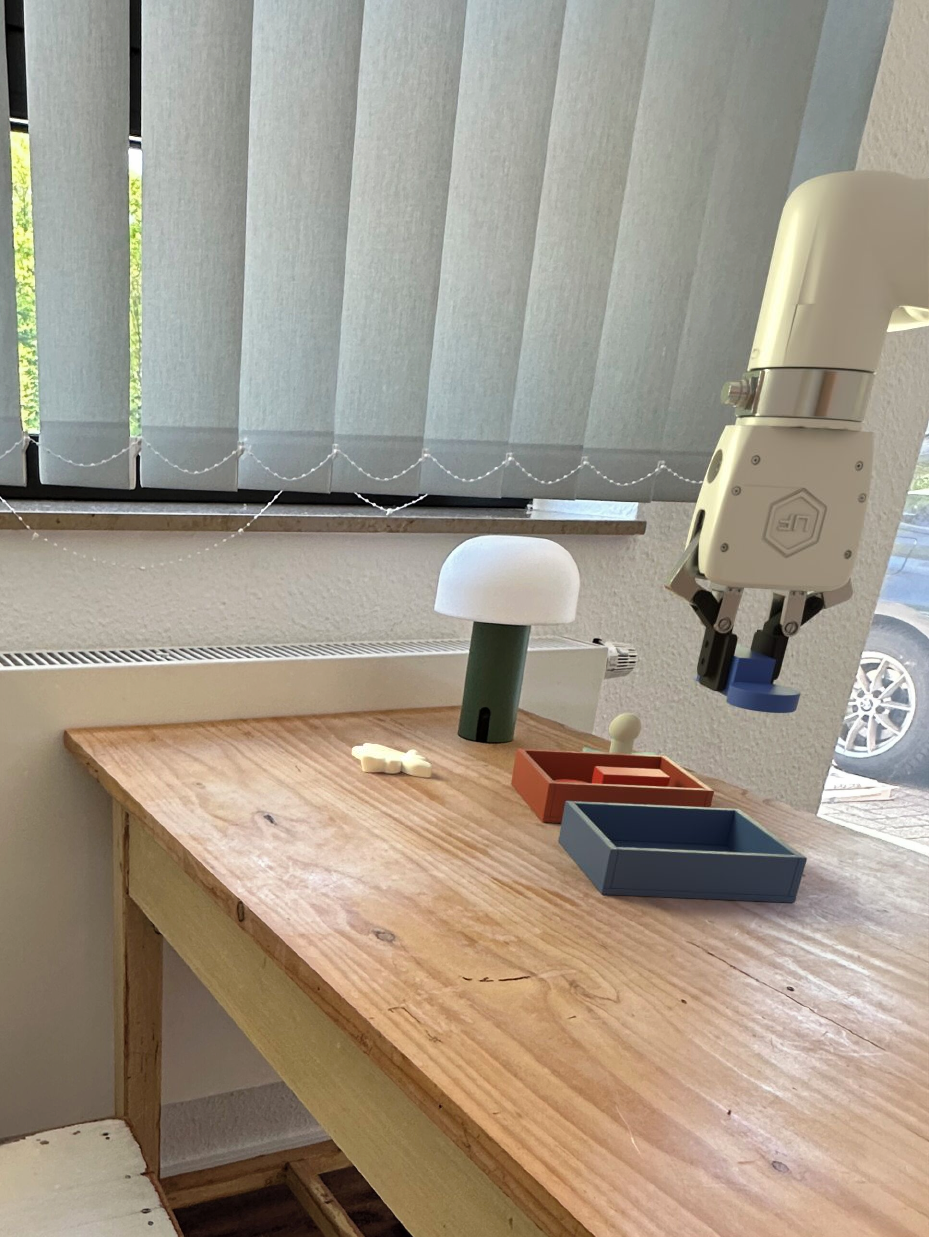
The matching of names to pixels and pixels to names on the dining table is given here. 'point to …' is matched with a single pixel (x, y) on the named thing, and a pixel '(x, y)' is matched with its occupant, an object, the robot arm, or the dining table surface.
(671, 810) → the blue bin
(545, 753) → the red bin
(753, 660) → the blue disc paddle
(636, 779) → the red disc paddle
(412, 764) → the acanthus leaf ornament
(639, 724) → the pacifier
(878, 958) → the dining table surface
